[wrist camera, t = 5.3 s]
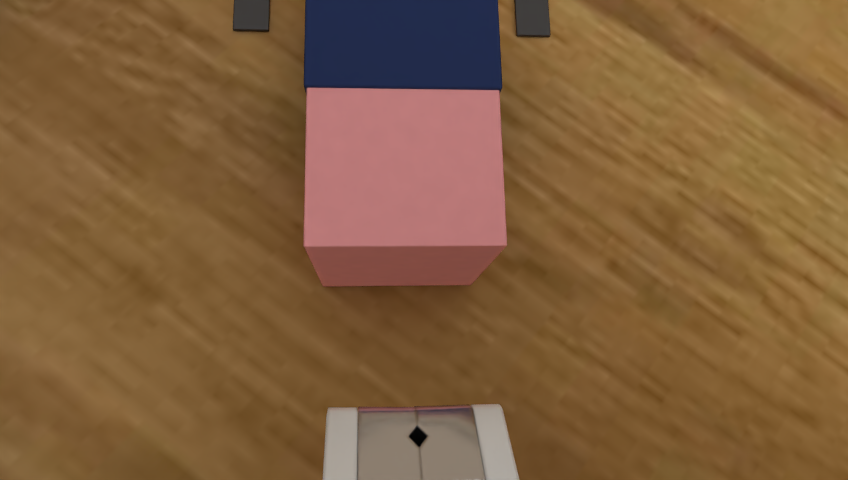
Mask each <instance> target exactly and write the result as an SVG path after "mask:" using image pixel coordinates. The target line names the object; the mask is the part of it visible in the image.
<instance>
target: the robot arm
mask: <svg viewBox="0 0 848 480" xmlns="http://www.w3.org/2000/svg"><path fill="white" fill-rule="evenodd" d="M323 480H519V475H518V471H517V467H516V463H515V459H514V455H513V450H512V446H511V442H510V438H509V434H508V430H507V425H506V421H505V417H504V413H503V409H502V407H501V406H500V405H499V404H479V405H471V406H470V405H442V406H414V407H358V410H357V407H328V411H327V416H326V433H325V450H324V467H323Z"/></svg>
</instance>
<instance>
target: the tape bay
mask: <svg viewBox="0 0 848 480" xmlns="http://www.w3.org/2000/svg"><path fill="white" fill-rule="evenodd" d="M269 9H270V0H234V18H233V30H234V31H269ZM515 15H516V33H517V36H535V37H550V23H549V9H548V0H515Z"/></svg>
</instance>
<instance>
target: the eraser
mask: <svg viewBox="0 0 848 480" xmlns="http://www.w3.org/2000/svg"><path fill="white" fill-rule="evenodd" d="M304 87H305V92H306V147H305V200H304V247H305V250H306V252H307V254H308V256H309V258H310V260H311V262H312V264H313V266H314V268H315V271H316V273H317V275H318V277H319V279H320V281H321V283H322V285H323V286H418V285H471V284H472V283H473V282H474V281H475V280H476V279H477V278H478V277H479V275H480V274H481V273H482V272H483V271H484V270H485V269H486V268H487V267H488V266H489V265H490V263H491V262H492V261H493V260H494V259H495V258H496V257H497V256H498V255H499V254H500V252H501V251H502V250H503V249H504V248H505V247H506V246H507V233H506V213H505V193H504V173H503V153H502V133H501V112H500V91H501V89H502V73H501V53H500V34H499V14H498V0H306V2H305V52H304Z"/></svg>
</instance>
